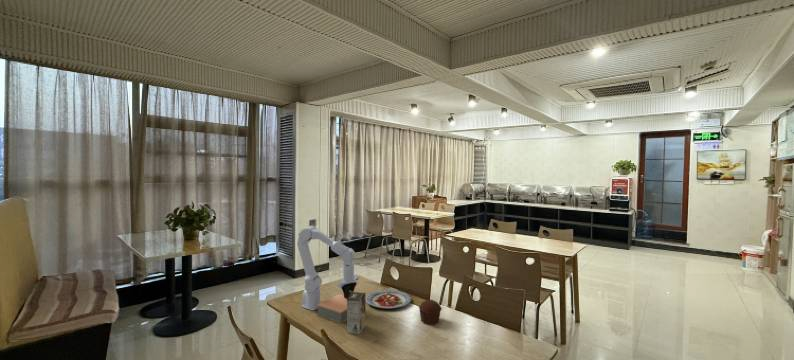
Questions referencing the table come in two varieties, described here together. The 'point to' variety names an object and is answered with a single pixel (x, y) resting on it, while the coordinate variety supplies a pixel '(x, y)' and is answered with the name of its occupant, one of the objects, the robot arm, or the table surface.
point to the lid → (336, 303)
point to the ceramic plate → (388, 299)
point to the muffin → (430, 312)
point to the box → (332, 314)
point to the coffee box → (356, 312)
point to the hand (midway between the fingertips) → (348, 296)
